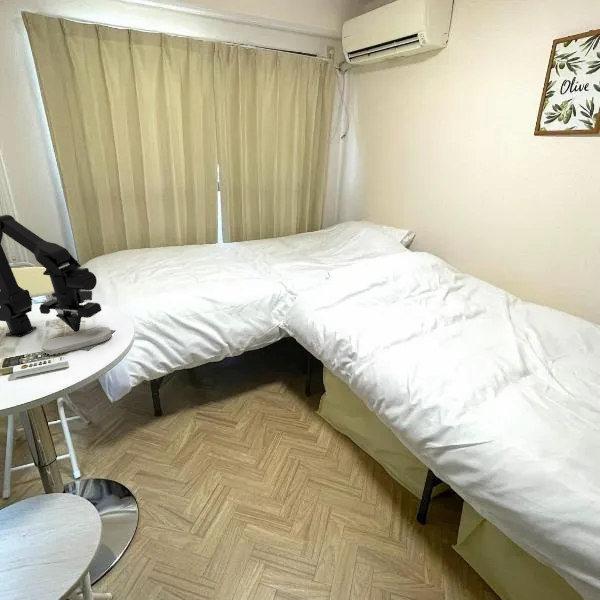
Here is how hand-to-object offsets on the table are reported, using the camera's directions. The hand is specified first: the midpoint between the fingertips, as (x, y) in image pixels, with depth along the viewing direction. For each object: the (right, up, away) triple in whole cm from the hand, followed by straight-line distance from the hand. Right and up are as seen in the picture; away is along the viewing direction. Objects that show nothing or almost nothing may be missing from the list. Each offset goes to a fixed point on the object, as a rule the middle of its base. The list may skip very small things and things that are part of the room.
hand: (77, 331), depth 125 cm
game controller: (0, -1, 0) cm, 1 cm away
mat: (+5, -3, 0) cm, 6 cm away
